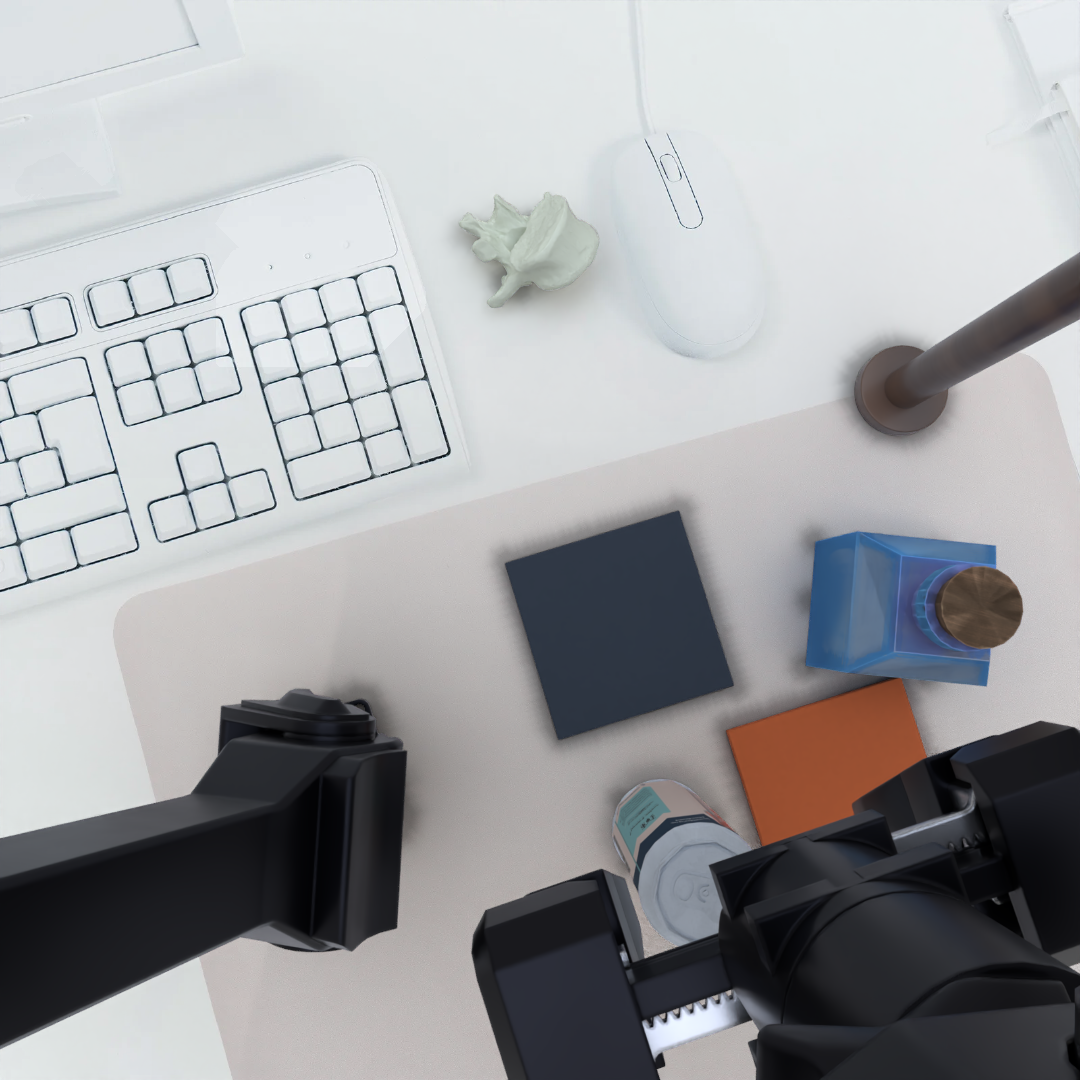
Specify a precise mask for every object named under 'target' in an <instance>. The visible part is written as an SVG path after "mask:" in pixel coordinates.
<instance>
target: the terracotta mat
mask: <svg viewBox="0 0 1080 1080" xmlns="http://www.w3.org/2000/svg"><path fill="white" fill-rule="evenodd" d="M725 734H726V736H727V739H728V742H729V745H730V749H731V752H732V756H733V758H734V761H735V764H736V765H735V766H736V768H737V771H738V774H739V778H740V781H741V784H742V786H743V787H742V788H743V790H744V793H745V796H746V801H747V803H748V807H749V809H750V812H751V815H752V819H753V822H754V825H755V829H756V831H757V834H758V837H759V841H760V844H761V847H762V846H765V845H768V844H771V843H774V842H777V841H780V840H783V839H786V838H789V837H791V836H794V835H797V834H800V833H803V832H806V831H809V830H812V829H815V828H818V827H821V826H823V825H826V824H829V823H832V822H835V821H838V820H841V819H844V818H847V817H850V816H853V815H854V812H853V809H852V803H853V802H855V801H856V800H857V799H859V798H860V797H862V796H863V795H865V794H866V793H868V792H870V791H871V790H873V789H875V788H876V787H878V786H880V785H881V784H883V783H885V782H886V781H888V780H889V779H891V778H893V777H894V776H896V775H898V774H899V773H901V772H902V771H904V770H905V769H907V768H909V767H910V766H912V765H914V764H915V763H917V762H919V761H920V760H922V759H924V758H927V757H928V755H927V752H926V749H925V746H924V744H923V740H922V737H921V734H920V731H919V728H918V725H917V722H916V719H915V716H914V713H913V710H912V707H911V704H910V700H909V697H908V694H907V691H906V688H905V685H904V682H903V678H896V677H889V678H888V679H884V680H881V681H877V682H875V683H871V684H868V685H865V686H861V687H859V688H856V689H852V690H849V691H847V692H843V693H839V694H837V695H833V696H830V697H827V698H824V699H820V700H817V701H815V702H811V703H808V704H804V705H802V706H799V707H795V708H793V709H789V710H785V711H783V712H778V713H777V714H773V715H769V716H767V717H763V718H760V719H757V720H754V721H751V722H747V723H744V724H740V725H738V726H735V727H732V728H729V729H728V728H727V729H726V730H725Z"/></svg>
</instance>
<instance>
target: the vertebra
mask: <svg viewBox="0 0 1080 1080" xmlns="http://www.w3.org/2000/svg"><path fill="white" fill-rule="evenodd" d="M493 204H494V205H493V206H494V207H493V211H492V214H491V216H490V217H489V219H488V220H487V221H485V220H481V219H480V220H479V219H477V218H476V217H475V215H474V214H473V213H471V212H469V211H468V212H466V213H465V214H464V215H463V216H462V218H461V219H460V221H459V222H458V227H459V228H460V229H462V230H463V231H466V232H467V233H469V234H470V235H472V236H475V237H476V238H477V240H475V241H474V242H473V243H472V246H471V248H470V249H471V251H472V253H473V254H474V256H476V258H477V259H478V260H480V261H481V262H483V263H485V264H486V263H489V262H492V261H496V262H499V263H500V264H501V265H502V266H503V268H504V269H505V271H506V274H504V275H503V276H501V286H500V288H499V289H498V290H497V291H496V292H495V293H494V295H493V296H491V297H490V298H489V299H488V300H487V301H486V305H487V306H488V307H489V308H490V309H499V308H503V306H504V305H505V304H506V303H507V302H508V301H509V300H510V299H511V298H512V297H513V296H514V295H515V294H516V293H517V292H518V291H519V289H520V288H522V287H528V286H531V285H532V283H533V284H535V286H537V287H538V288H539V289H540V290H543V291H546V292H547V291H549V292H550V291H557V290H561V289H563V288H565V287H568V286H570V285H571V284H572V283H574V282H575V281H576V280H577V279H578V278H579V277H580V276H581V275H582V274H583V273H584V272H585V271H586V270H587V269H588V268H589V267H590V265H591V264H592V263H593V261H594V260H595V258H596V255H597V254H598V250H599V247H600V237H599V234H598V231H597V229H596V228H595V227H594V226H593V225H592V223H589V222H588V221H587V220H584V219H581V218H578V217H577V216H576V214H575V213H574V212H573V210H572V209H571V207H570V204H569V202H568V200H567V199H566V197H564V196H563V195H562V194H554V195H552V193H551V192H550V191H545V192H544V193H543V199H542V200H541V201H539V202H538V204H537V205H536V206H534V207H533V210H532V211H531V213H530V215H525V214H523V215H522V214H521V213H520V212H519V210H518V209H517V207H516V206H515V205H514V204H512V203H510V202H508V201H507V200H506V199H504V197H502V196H501V195H500V194H498V193H495V194H494V196H493ZM478 238H479V239H478Z"/></svg>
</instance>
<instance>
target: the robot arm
mask: <svg viewBox="0 0 1080 1080" xmlns="http://www.w3.org/2000/svg"><path fill="white" fill-rule="evenodd" d="M358 705H360V706H363V708H364V710H363V709H361V708H360V707H357V706H358ZM219 712H220V713H219V728H218V742H217V755H216V757H215V759H214V760H213V762H212V763H211V765H210V766H209V767H208V769H207V770H206V771H205V772H204V774H203V776H202V777H201V779H200V780H199V781H198V782H197V784H196V785H195V787H194V788H193V789H192V791H191V793H189V794H185V795H182V796H178V797H174V798H170V799H165V800H160V801H156V802H152V803H147V804H143V805H139V806H135V807H130V808H126V809H121V810H117V811H113V812H109V813H105V814H100V815H99V814H98V815H94V816H90V817H87V818H86V817H85V818H83V819H78V820H72V821H68V822H64V823H60V824H55V825H51V826H47V827H43V828H38V829H35V830H29V831H26V832H21V833H16V834H12V835H9V836H3V837H0V1050H3V1049H4V1048H6V1047H9V1046H11V1045H13V1044H16V1043H17V1042H19V1041H21V1040H23V1039H26V1038H28V1037H30V1036H32V1035H34V1034H36V1033H39V1032H41V1031H43V1030H45V1029H47V1028H50V1027H51V1026H54V1025H55V1024H58V1023H60V1022H62V1021H65V1020H66V1019H69V1018H71V1017H73V1016H75V1015H77V1014H80V1013H82V1012H83V1011H86V1010H89V1009H90V1008H93V1007H94V1006H96V1005H98V1004H101V1003H103V1002H105V1001H107V1000H109V999H112V998H113V997H117V996H119V995H120V994H122V993H124V992H127V991H128V990H132V989H133V988H135V987H137V986H139V985H141V984H143V983H145V982H148V981H151V980H152V979H154V978H156V977H158V976H161V975H163V974H165V973H168V972H169V971H172V970H174V969H177V968H178V967H180V966H183V965H184V964H187V963H189V962H191V961H194V960H195V959H197V958H199V957H201V956H204V955H206V954H208V953H210V952H212V951H215V950H217V949H219V948H221V947H223V946H225V945H228V944H230V943H232V942H234V941H236V940H238V939H246V940H247V939H248V940H253V941H259V942H264V943H268V944H271V946H275V947H277V948H280V949H283V950H287V951H291V952H299V953H327V952H328V953H329V952H335V951H336V952H337V951H342V950H343V951H346V952H351V953H352V952H354V951H355V949H357V948H358V947H359V946H360V945H361V944H362V943H363V942H365V941H366V940H368V939H370V938H372V937H374V936H376V935H378V934H382V933H386V932H390V931H394V930H397V929H398V924H399V923H398V922H399V921H398V919H399V906H400V905H399V904H400V889H401V887H400V886H401V870H402V852H403V836H404V835H403V834H404V817H405V816H404V815H405V801H406V800H405V799H406V782H407V766H408V765H407V764H408V750H407V749H404V742H403V741H402V739H401V738H400V737H398V736H388V735H387V734H385V733H384V732H380V733H379V730H378V727H377V718H376V717H375V716H374V713H373V710H372V706H371V705H370V702H369V701H367V699H364V698H356V699H353V700H349V701H346V702H342V700H341V699H340V698H337V697H336V698H335V697H331V696H326V695H320V694H315V693H314V692H313V691H312V690H311V689H310V688H293V689H290V690H288V691H287V692H286V693H284V695H283V696H282V697H280V698H279V699H241V700H240V703H235V704H234V703H233V704H225V705H221V706H220V711H219ZM852 809H853V812H854V815H853V816H850V817H847V818H844V819H841V820H838V821H835V822H832V823H829V824H826V825H823V826H821V827H818V828H815V829H812V830H809V831H806V832H803V833H800V834H797V835H794V836H791V837H789V838H786V839H783V840H780V841H777V842H774V843H771V844H768V845H765V846H762V845H761V846H759V847H757V848H754V849H752V850H751V851H748V852H745V853H742V854H739V855H736V856H733V857H730V858H727V859H724V860H721V861H719V862H716V863H713V864H710V865H709V868H710V871H711V874H712V877H713V880H714V883H715V887H716V890H717V893H718V896H719V899H720V902H721V905H722V910H721V913H720V918H719V929H718V933H716V934H713V935H710V936H707V937H704V938H702V939H699V940H696V941H693V942H690V943H687V944H684V945H681V946H675V947H672V948H671V949H667V950H664V951H661V952H658V953H656V954H653V955H650V956H647V957H645V949H644V940H643V932H642V927H641V923H640V920H639V917H638V914H637V911H636V909H635V905H634V902H633V899H632V896H631V893H630V890H629V886H628V884H627V881H626V879H625V878H624V877H622V876H620V875H618V874H615V873H613V872H611V871H609V870H607V869H604V868H599V869H596V870H593V871H590V872H586V873H584V874H581V875H578V876H575V877H572V878H568V879H567V880H563V881H561V882H558V883H555V884H552V885H548V886H545V887H542V888H540V889H536V890H533V891H531V892H529V893H526V894H525V895H524V896H522V897H519V898H516V899H513V900H511V901H507V902H505V903H504V902H503V903H502V904H499V905H496V906H493V907H489V908H487V909H485V910H484V912H483V913H482V916H481V918H480V920H479V922H478V923H477V926H476V928H475V930H474V932H473V934H472V940H471V950H470V954H471V959H472V963H473V968H474V973H475V977H476V983H477V985H478V988H479V990H480V995H481V998H482V1001H483V1005H484V1008H485V1011H486V1014H487V1017H488V1020H489V1024H490V1026H491V1030H492V1033H493V1036H494V1039H495V1043H496V1045H497V1049H498V1052H499V1055H500V1059H501V1063H502V1065H503V1068H504V1072H505V1075H506V1078H507V1080H661V1076H660V1074H659V1071H658V1070H659V1069H662V1068H665V1067H666V1065H667V1064H666V1060H665V1056H664V1052H666V1051H669V1050H672V1049H675V1048H678V1047H681V1046H684V1045H686V1044H690V1043H692V1042H695V1041H698V1040H700V1039H703V1038H707V1037H709V1036H711V1035H714V1034H715V1035H716V1034H718V1033H720V1032H724V1031H726V1030H728V1029H729V1030H730V1029H731V1028H734V1027H737V1026H740V1025H743V1024H746V1023H749V1022H751V1021H752V1022H753V1024H754V1025H755V1027H756V1028H757V1030H758V1032H757V1034H756V1035H757V1036H756V1038H754V1039H751V1040H750V1041H748V1042H747V1045H748V1048H749V1051H750V1055H751V1058H752V1060H753V1061H752V1062H753V1064H754V1067H755V1080H1080V972H1078V971H1076V970H1075V969H1073V968H1072V967H1074V966H1075V965H1078V964H1080V729H1079V728H1077V727H1076V726H1070V725H1067V724H1066V725H1065V724H1061V723H1056V722H1050V721H1045V720H1038V721H1035V722H1032V723H1030V724H1026V725H1023V726H1021V727H1018V728H1015V729H1012V730H1008V731H1006V732H1003V733H1000V734H992V735H989V736H986V737H983V738H980V739H976V740H974V741H971V742H969V743H968V742H967V743H966V744H963V745H960V746H956V747H953V748H949V749H947V750H945V751H942V752H939V753H935V754H933V755H930V756H927V758H924V759H922V760H920V761H919V762H917V763H915V764H914V765H912V766H910V767H909V768H907V769H905V770H904V771H902V772H901V773H899V774H898V775H896V776H894V777H893V778H891V779H889V780H888V781H886V782H885V783H883V784H881V785H880V786H878V787H876V788H875V789H873V790H871V791H870V792H868V793H866V794H865V795H863V796H862V797H860V798H859V799H857V800H856V801H855V802H853V803H852ZM727 992H730V995H729V994H728V993H727ZM715 996H717V999H715V998H714V997H715ZM701 1001H704V1004H702V1003H701ZM690 1005H691V1008H688V1007H687V1006H690ZM675 1010H678V1013H675ZM661 1015H664V1016H665V1017H663V1018H662V1016H661Z"/></svg>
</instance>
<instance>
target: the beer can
mask: <svg viewBox="0 0 1080 1080" xmlns="http://www.w3.org/2000/svg"><path fill="white" fill-rule="evenodd" d="M611 836H612V842H613V845H614V848H615V850H616V852H617V854H618V856H619V858H620V859H621V861H622V862H623V864H624V865H625V867H626V869H627V872H628V874H629V876H630V879H631V880H632V881H631V882H632V883H633V885H634V887H635V890H636V892H637V894H638V897H639V901H640V905H641V909H642V911H643V914H644V915H645V917H646V919H647V921H648V923H649V924H650V926H651V927H652V928H653V930H654V931H655V932H656V933H658V935H659V936H661V937H662V938H663V940H665V941H667V942H669V943H671V944H672V945H674V946H675V947H679V946H681V945H684V944H687V943H690V942H693V941H696V940H699V939H702V938H704V937H707V936H710V935H713V934H716V933H718V929H719V918H720V913H721V910H722V905H721V902H720V899H719V896H718V893H717V890H716V887H715V883H714V880H713V877H712V874H711V871H710V868H709V865H710V864H713V863H716V862H719V861H721V860H724V859H727V858H730V857H733V856H736V855H739V854H742V853H745V852H748V851H751V850H753V849H752V847H751V846H750V844H749V843H748V842H747V841H746V840H745V839H744V838H742V836H740V834H739V833H738V832H737V831H735V829H733V827H731V825H729V824H728V823H727V822H726V821H725V820H724V819H723V818H722V817H721V816H720V815H719V814H718V813H717V812H716V811H715V810H714V809H713V808H712V807H711V806H710V805H709V804H708V803H707V802H706V801H704V800H703V798H701V797H700V795H698V794H697V793H696V792H694V790H692V789H691V788H690V787H689V786H687V785H685V784H683V783H681V782H679V781H675V780H673V779H667V778H666V779H665V778H658V779H650V780H647V781H643V782H640V783H639V784H638V785H636V786H634V787H633V788H632V789H630V790H629V791H628V792H627V793H625V794H624V796H623V797H622V798H621V800H620V801H619V803H618V804H617V806H616V808H615V811H614V814H613V818H612V825H611Z"/></svg>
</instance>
